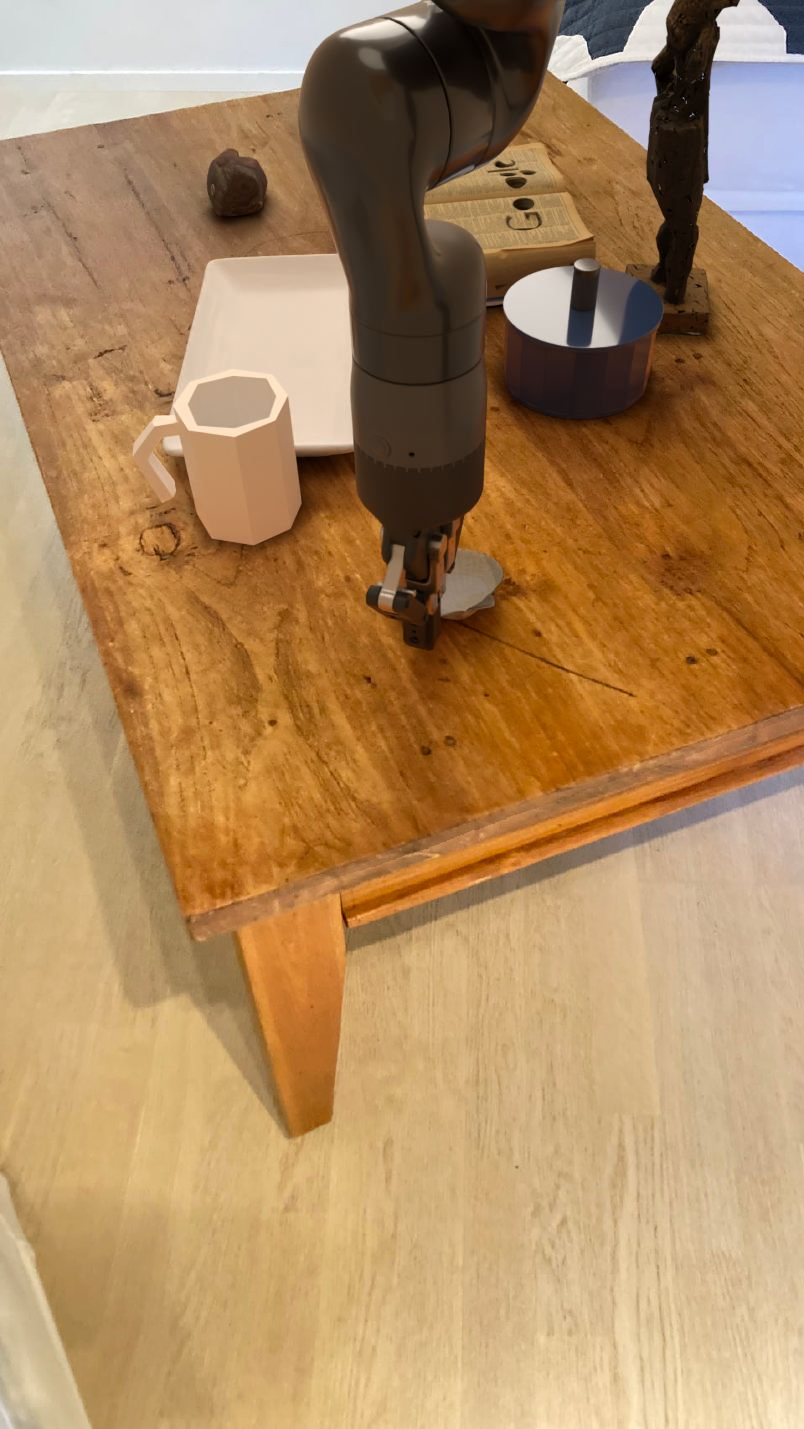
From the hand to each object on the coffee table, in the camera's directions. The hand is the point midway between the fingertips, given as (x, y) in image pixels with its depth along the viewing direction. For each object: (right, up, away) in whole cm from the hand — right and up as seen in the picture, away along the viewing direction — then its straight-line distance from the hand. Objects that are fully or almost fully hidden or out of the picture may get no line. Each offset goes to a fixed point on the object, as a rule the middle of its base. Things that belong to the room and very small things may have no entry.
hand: (422, 640), depth 72 cm
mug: (-15, +11, +11) cm, 22 cm away
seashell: (+2, +3, +4) cm, 6 cm away
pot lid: (+14, +29, +17) cm, 36 cm away
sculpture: (+24, +34, +29) cm, 50 cm away
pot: (+14, +25, +22) cm, 36 cm away
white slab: (-12, +26, +24) cm, 37 cm away
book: (+8, +44, +38) cm, 59 cm away
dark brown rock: (-19, +51, +46) cm, 71 cm away
